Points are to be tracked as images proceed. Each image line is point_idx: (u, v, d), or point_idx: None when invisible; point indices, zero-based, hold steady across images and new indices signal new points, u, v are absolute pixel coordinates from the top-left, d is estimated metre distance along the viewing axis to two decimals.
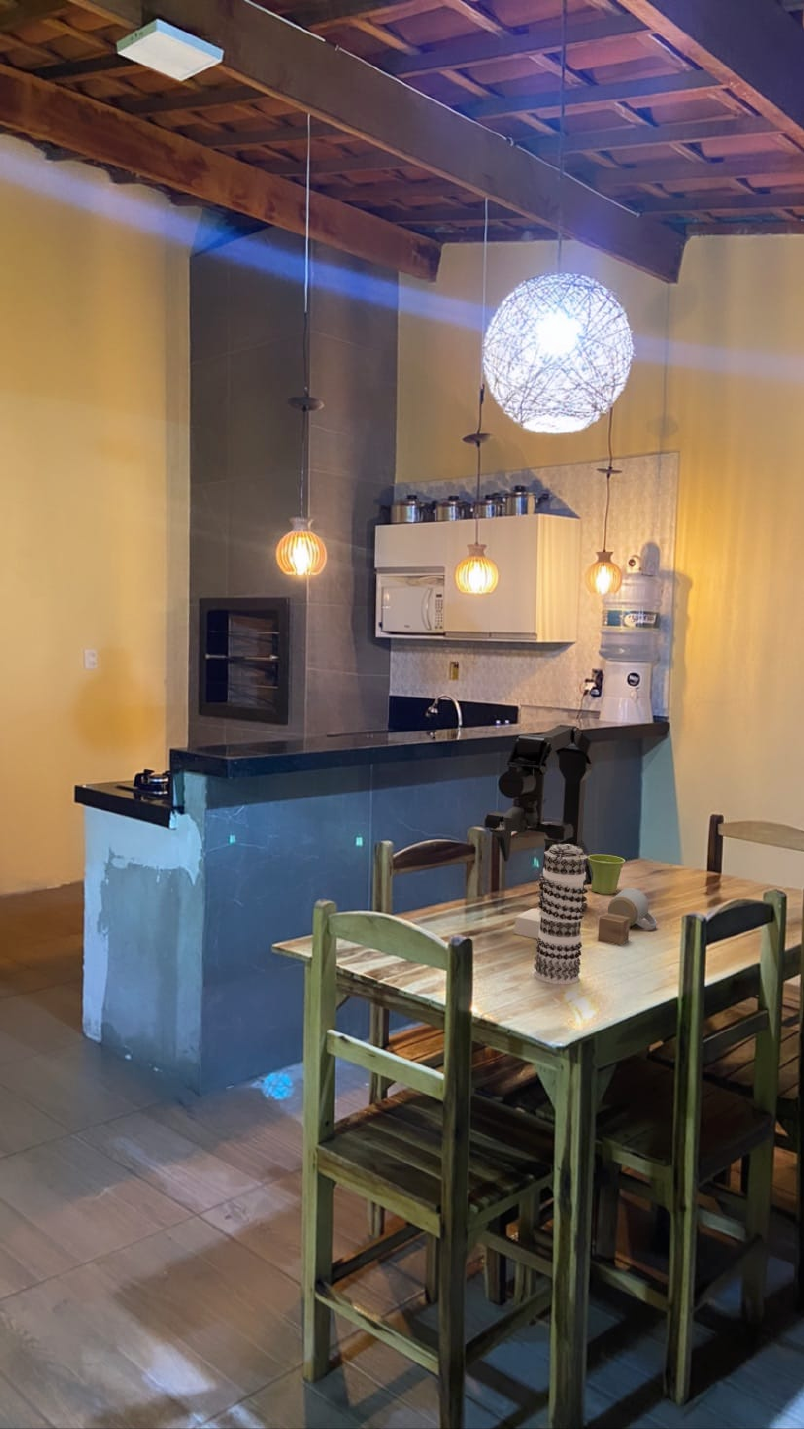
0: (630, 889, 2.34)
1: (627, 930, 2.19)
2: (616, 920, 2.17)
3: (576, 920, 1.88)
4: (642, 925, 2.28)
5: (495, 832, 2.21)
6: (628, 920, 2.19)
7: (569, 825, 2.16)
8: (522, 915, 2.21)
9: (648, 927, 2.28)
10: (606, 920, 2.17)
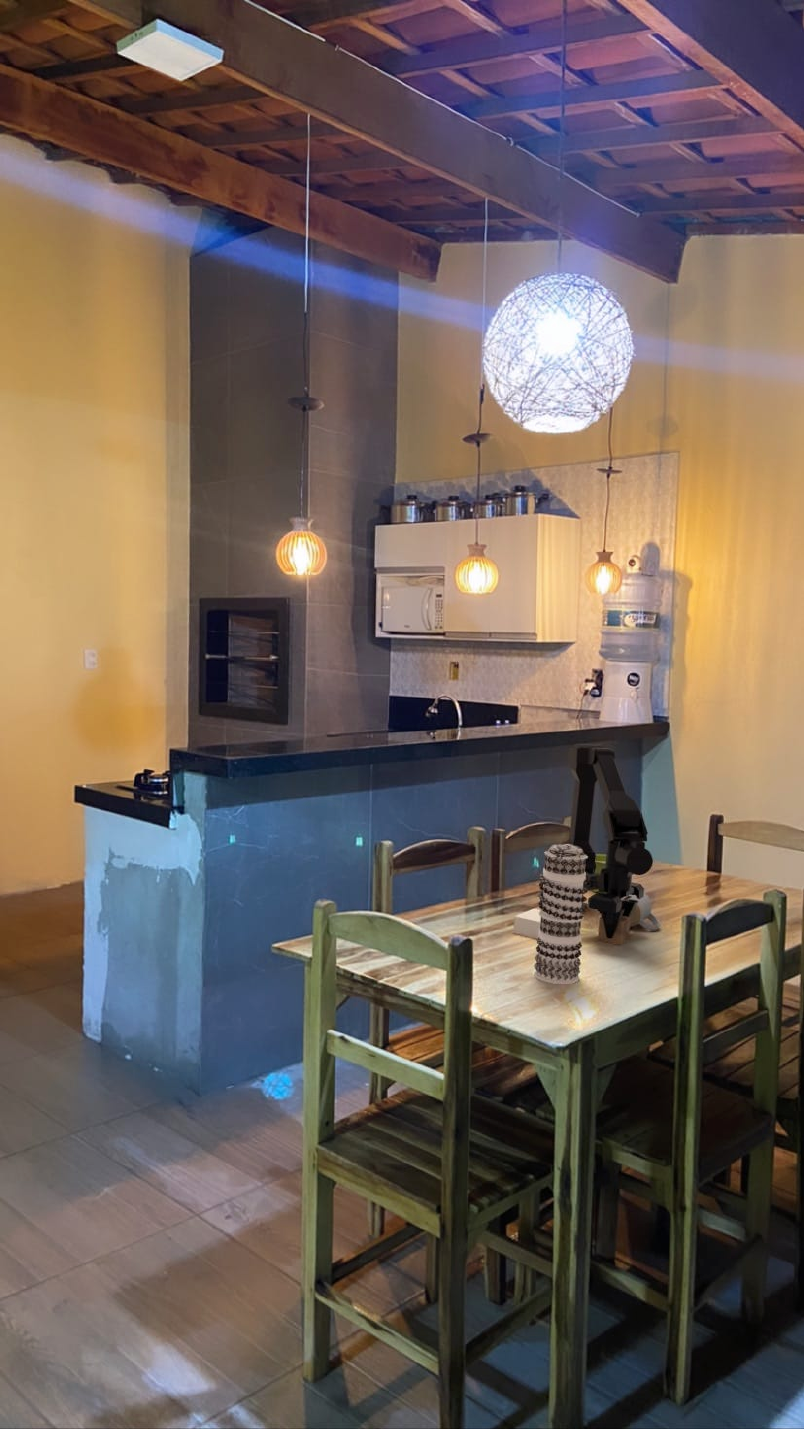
0: None
1: (627, 930, 2.19)
2: None
3: (576, 920, 1.88)
4: (645, 926, 2.28)
5: None
6: (628, 920, 2.19)
7: (607, 899, 2.10)
8: (522, 915, 2.21)
9: (651, 928, 2.28)
10: None
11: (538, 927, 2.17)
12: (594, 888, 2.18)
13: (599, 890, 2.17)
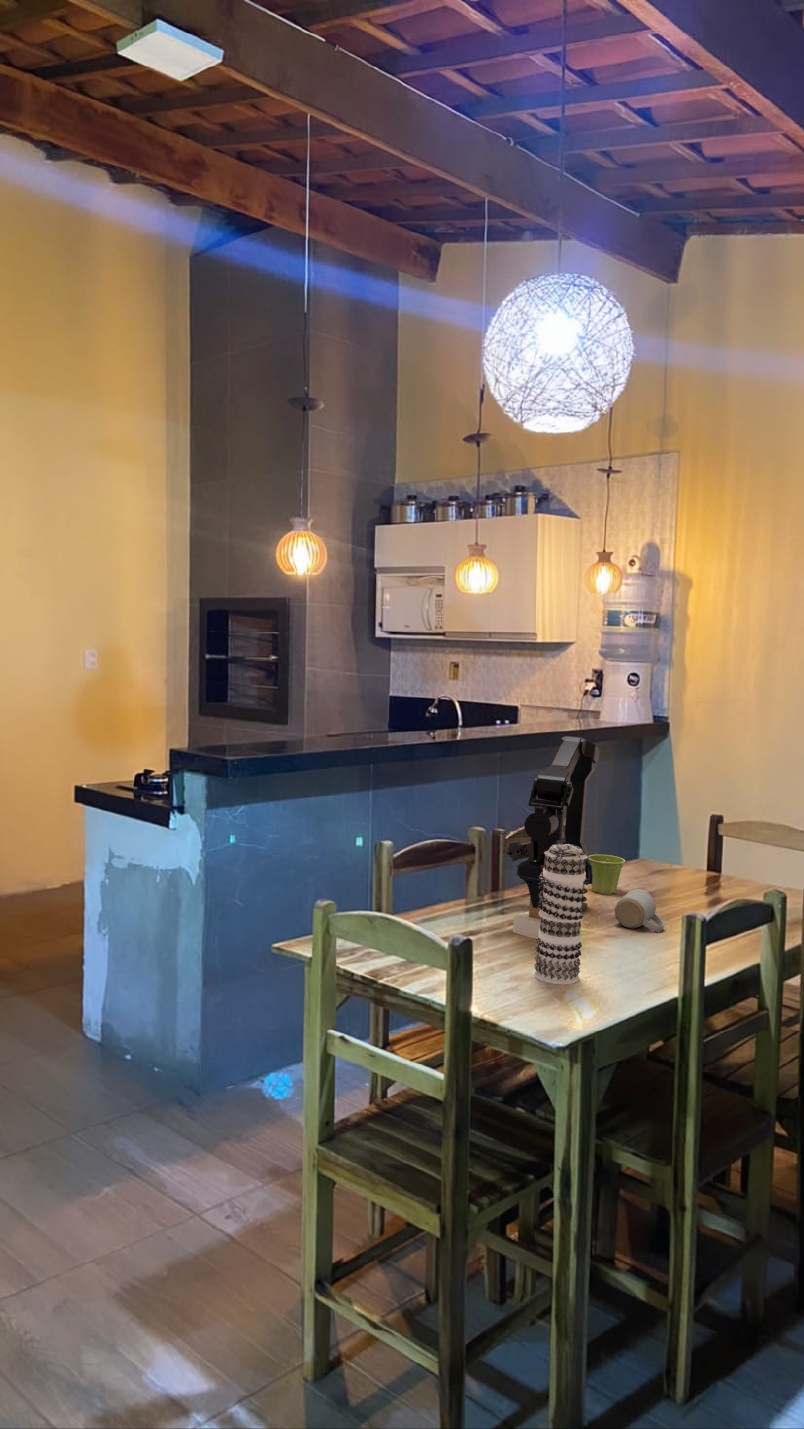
0: (637, 890, 2.33)
1: None
2: None
3: (576, 920, 1.88)
4: (649, 927, 2.27)
5: None
6: None
7: (534, 866, 2.12)
8: (522, 915, 2.21)
9: (655, 929, 2.27)
10: None
11: (536, 927, 2.17)
12: (524, 856, 2.20)
13: (529, 858, 2.19)
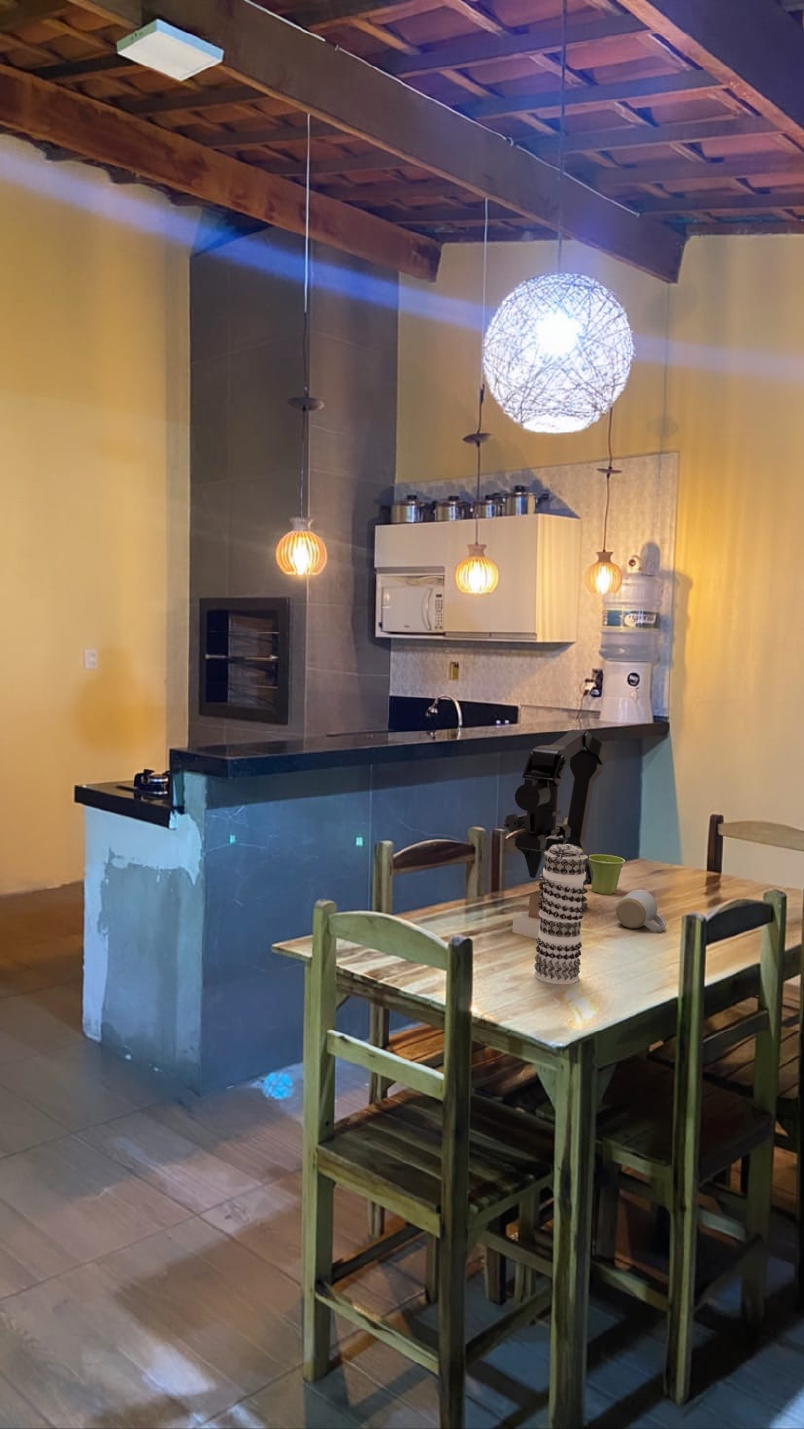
0: (638, 890, 2.33)
1: None
2: None
3: (576, 920, 1.88)
4: (651, 927, 2.27)
5: None
6: None
7: (531, 837, 2.18)
8: (521, 915, 2.21)
9: (657, 929, 2.27)
10: (536, 896, 2.19)
11: (536, 927, 2.17)
12: (521, 828, 2.26)
13: (526, 830, 2.25)
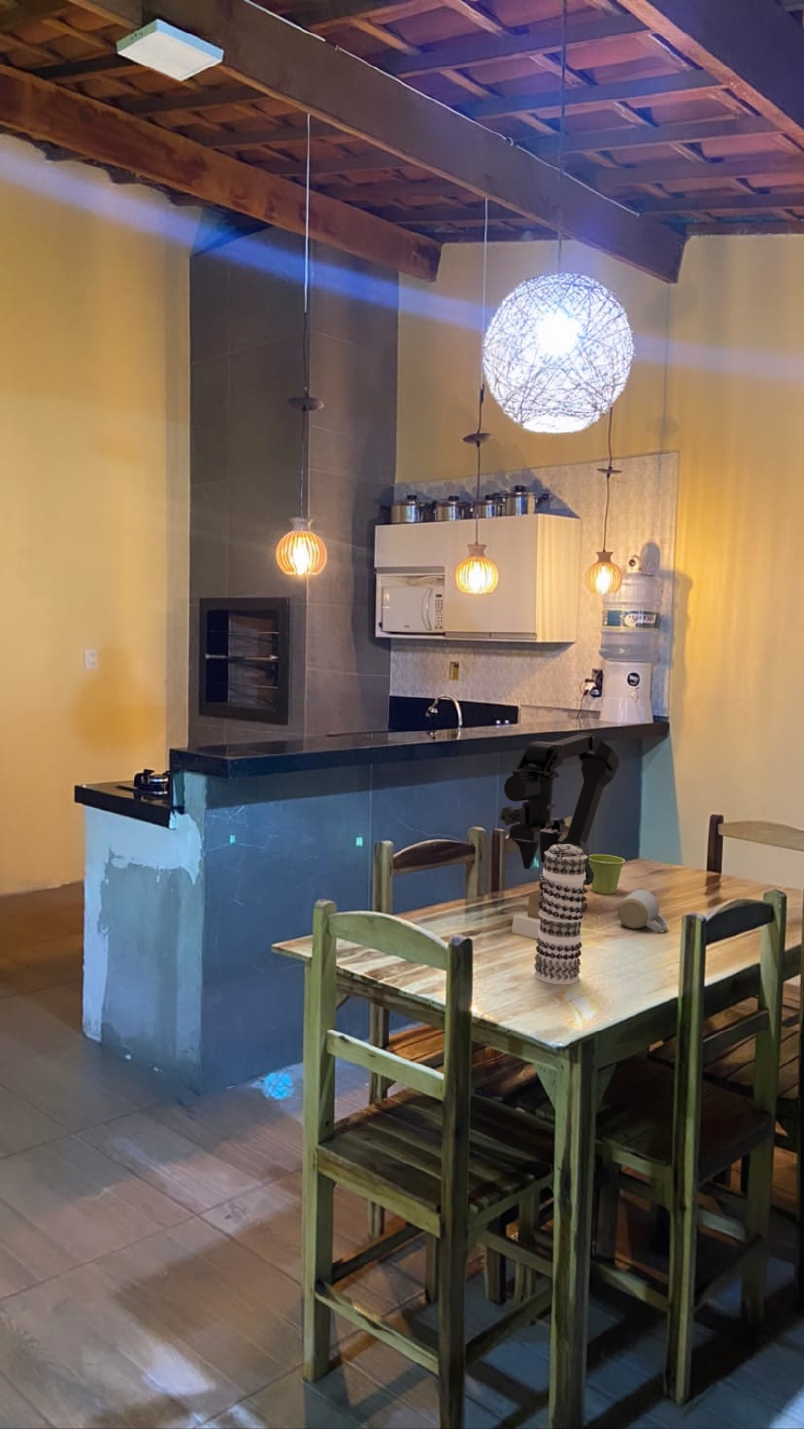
0: (640, 891, 2.33)
1: None
2: None
3: (576, 920, 1.88)
4: (652, 927, 2.27)
5: None
6: None
7: (525, 828, 2.23)
8: (521, 915, 2.21)
9: (658, 929, 2.27)
10: (535, 896, 2.19)
11: (535, 927, 2.16)
12: (516, 821, 2.32)
13: (521, 822, 2.31)
